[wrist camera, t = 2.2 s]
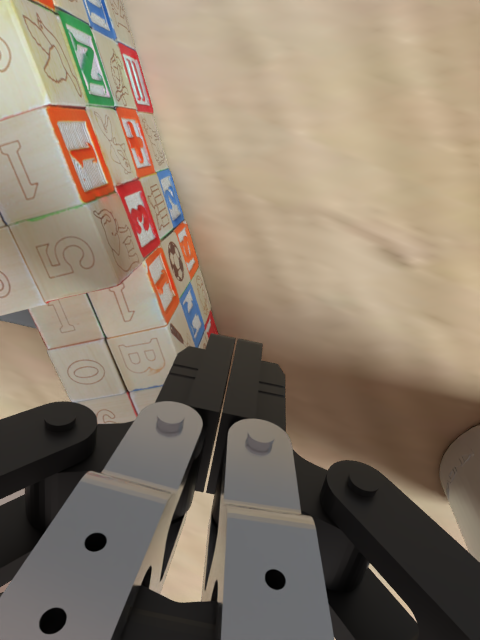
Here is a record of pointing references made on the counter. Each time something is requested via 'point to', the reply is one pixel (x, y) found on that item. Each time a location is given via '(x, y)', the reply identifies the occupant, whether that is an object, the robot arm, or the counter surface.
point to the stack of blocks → (92, 207)
